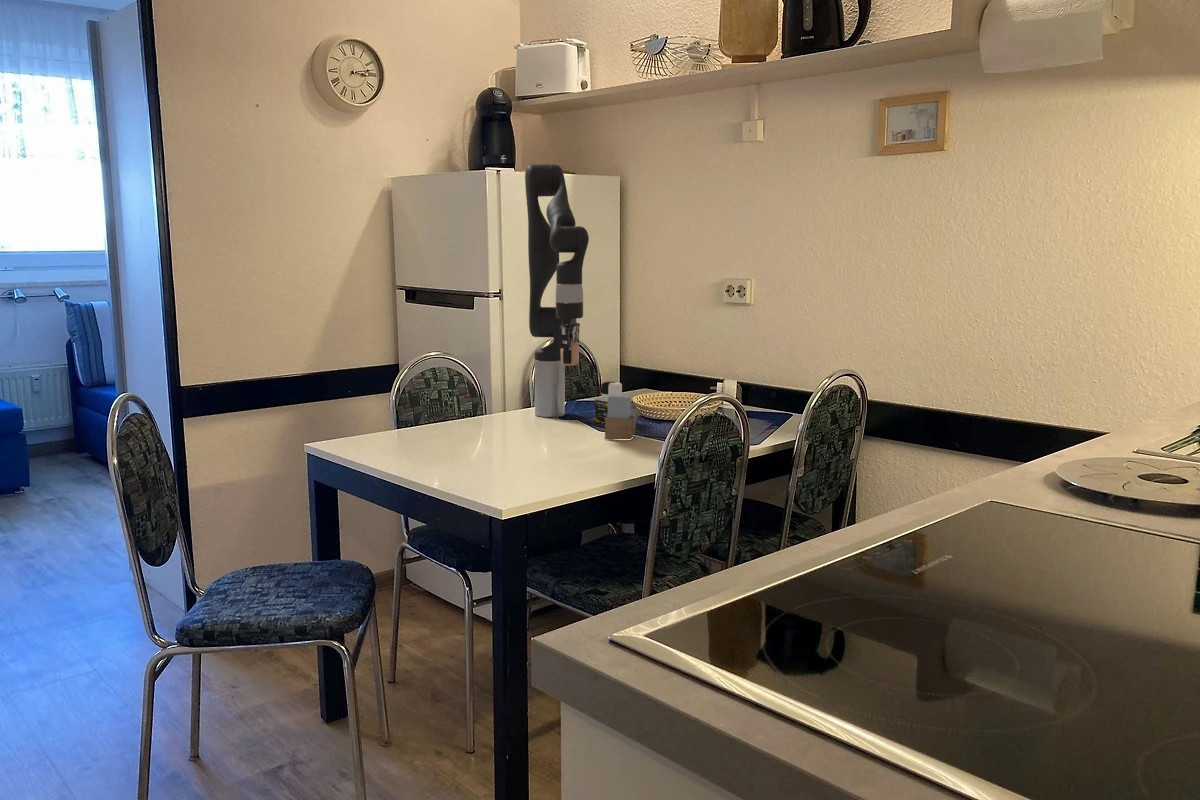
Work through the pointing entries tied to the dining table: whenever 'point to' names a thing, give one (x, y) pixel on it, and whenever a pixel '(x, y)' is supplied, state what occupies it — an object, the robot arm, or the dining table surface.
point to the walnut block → (619, 428)
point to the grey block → (619, 406)
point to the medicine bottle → (606, 399)
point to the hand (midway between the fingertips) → (569, 361)
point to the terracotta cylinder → (574, 354)
